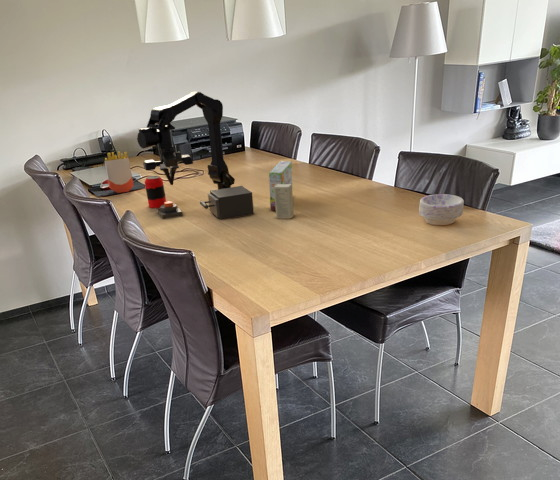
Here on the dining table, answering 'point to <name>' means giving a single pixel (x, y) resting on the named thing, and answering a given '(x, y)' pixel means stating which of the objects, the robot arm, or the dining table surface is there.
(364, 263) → the dining table surface
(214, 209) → the drawer
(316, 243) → the dining table surface
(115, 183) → the french fries container
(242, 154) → the dining table surface
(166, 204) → the button
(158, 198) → the soda can
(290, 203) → the cosmetic box
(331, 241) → the dining table surface
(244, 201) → the dark grey hollow box
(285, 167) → the snack box
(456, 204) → the grey stone bowl
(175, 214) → the panel
